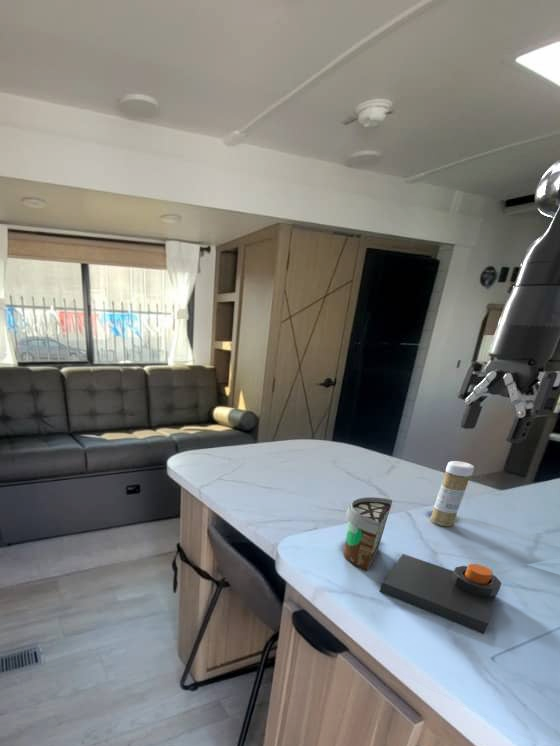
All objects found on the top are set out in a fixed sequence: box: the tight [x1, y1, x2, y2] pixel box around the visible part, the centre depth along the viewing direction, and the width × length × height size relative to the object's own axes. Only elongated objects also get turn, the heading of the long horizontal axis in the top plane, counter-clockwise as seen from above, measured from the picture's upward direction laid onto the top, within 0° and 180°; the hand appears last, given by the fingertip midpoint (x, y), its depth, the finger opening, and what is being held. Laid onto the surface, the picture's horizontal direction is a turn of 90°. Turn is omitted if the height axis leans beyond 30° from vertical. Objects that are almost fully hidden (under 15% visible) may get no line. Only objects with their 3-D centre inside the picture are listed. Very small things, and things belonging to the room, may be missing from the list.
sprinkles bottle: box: [429, 460, 475, 527], centre depth 85 cm, size 5×5×13 cm
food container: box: [343, 496, 393, 572], centre depth 73 cm, size 12×6×10 cm, turn 145°
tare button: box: [465, 563, 494, 584], centre depth 63 cm, size 3×3×2 cm
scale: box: [378, 553, 502, 635], centre depth 64 cm, size 14×12×4 cm
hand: (488, 434), depth 65 cm, fingers open, 8 cm apart
